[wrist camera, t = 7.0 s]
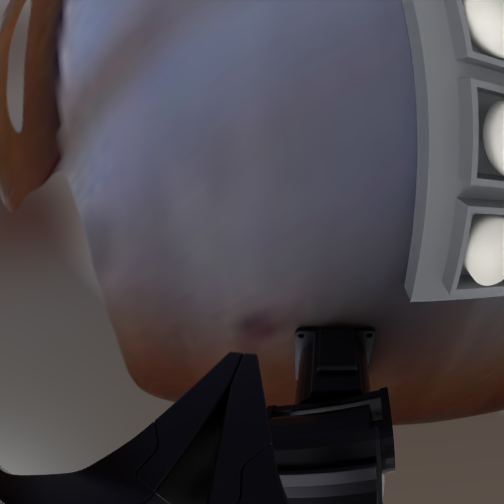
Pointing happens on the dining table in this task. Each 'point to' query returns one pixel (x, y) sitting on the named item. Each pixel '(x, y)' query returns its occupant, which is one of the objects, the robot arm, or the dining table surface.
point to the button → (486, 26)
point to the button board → (449, 150)
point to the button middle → (495, 135)
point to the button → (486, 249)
